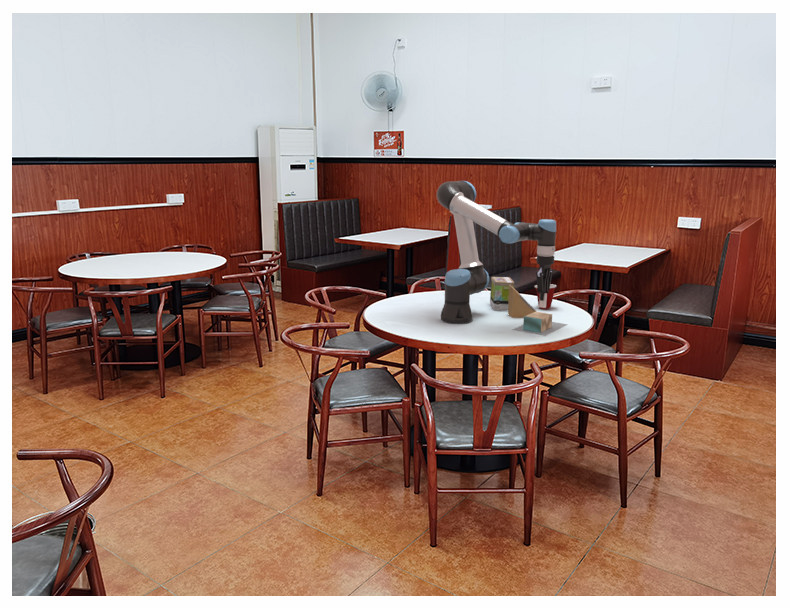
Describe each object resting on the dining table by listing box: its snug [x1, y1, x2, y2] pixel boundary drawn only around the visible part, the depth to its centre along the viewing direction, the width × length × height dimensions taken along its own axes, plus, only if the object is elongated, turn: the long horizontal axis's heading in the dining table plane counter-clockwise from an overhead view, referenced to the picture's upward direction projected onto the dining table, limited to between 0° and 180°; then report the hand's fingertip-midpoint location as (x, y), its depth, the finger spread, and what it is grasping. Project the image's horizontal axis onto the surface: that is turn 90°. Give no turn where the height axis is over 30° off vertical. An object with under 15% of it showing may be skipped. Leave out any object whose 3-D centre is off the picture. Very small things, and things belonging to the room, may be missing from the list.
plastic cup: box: [534, 283, 557, 310], centre depth 314 cm, size 11×11×12 cm
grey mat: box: [511, 321, 569, 337], centre depth 279 cm, size 24×16×1 cm, turn 142°
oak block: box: [522, 311, 553, 333], centre depth 276 cm, size 6×8×12 cm
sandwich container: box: [507, 285, 538, 319], centre depth 298 cm, size 9×15×15 cm, turn 91°
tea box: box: [489, 276, 515, 311], centre depth 316 cm, size 15×10×15 cm
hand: (542, 307), depth 278 cm, fingers closed
